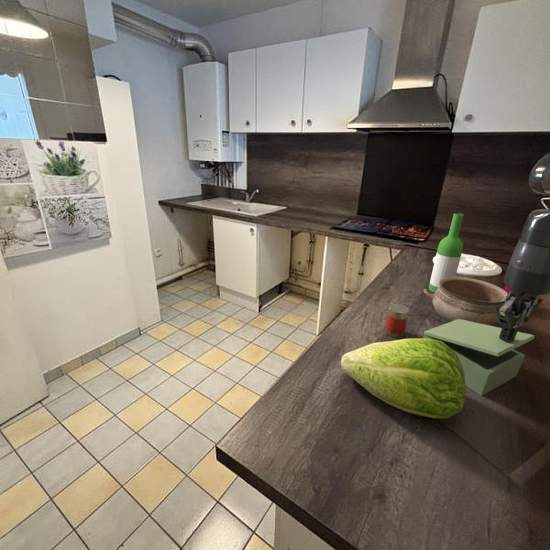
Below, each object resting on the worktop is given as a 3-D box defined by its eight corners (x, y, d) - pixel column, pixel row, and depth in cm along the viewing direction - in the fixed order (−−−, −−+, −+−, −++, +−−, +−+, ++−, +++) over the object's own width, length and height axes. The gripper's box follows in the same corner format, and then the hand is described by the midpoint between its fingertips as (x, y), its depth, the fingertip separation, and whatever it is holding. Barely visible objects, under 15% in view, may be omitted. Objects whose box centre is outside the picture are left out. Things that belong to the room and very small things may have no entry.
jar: (393, 328, 89) (398, 301, 85) (408, 337, 84) (413, 310, 81) (379, 332, 86) (384, 305, 83) (394, 342, 82) (399, 314, 78)
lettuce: (338, 415, 65) (362, 380, 77) (468, 438, 50) (471, 391, 63) (325, 352, 64) (351, 328, 76) (454, 357, 49) (460, 326, 62)
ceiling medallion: (452, 252, 156) (454, 246, 155) (513, 268, 134) (515, 262, 133) (420, 261, 143) (421, 255, 142) (481, 281, 121) (483, 274, 120)
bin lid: (534, 338, 64) (534, 335, 64) (498, 356, 58) (498, 352, 58) (458, 321, 79) (458, 318, 79) (424, 334, 73) (424, 331, 73)
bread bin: (515, 378, 69) (525, 355, 66) (480, 398, 63) (489, 373, 60) (452, 342, 82) (458, 321, 79) (418, 356, 76) (423, 334, 74)
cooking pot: (414, 325, 90) (422, 290, 85) (422, 301, 104) (429, 270, 100) (515, 353, 78) (531, 313, 73) (508, 321, 92) (521, 286, 88)
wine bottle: (455, 293, 110) (476, 214, 99) (443, 298, 107) (464, 217, 95) (435, 286, 117) (453, 211, 105) (423, 290, 113) (441, 213, 101)
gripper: (539, 278, 50) (507, 359, 57) (575, 266, 56) (542, 341, 62) (493, 264, 56) (469, 338, 63) (529, 254, 62) (504, 324, 69)
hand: (506, 340), depth 63 cm, fingers closed
